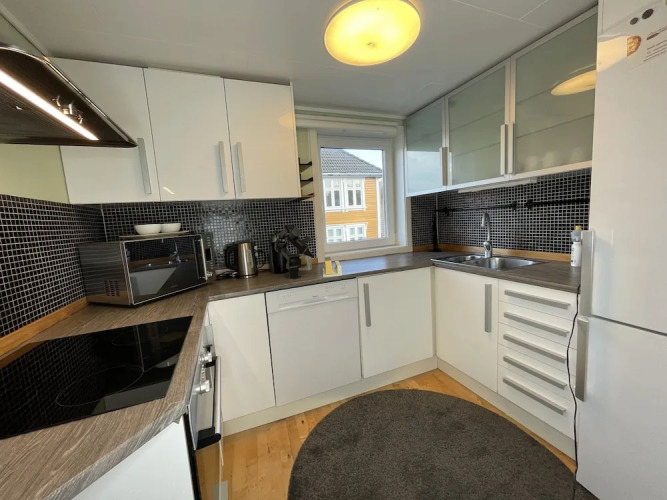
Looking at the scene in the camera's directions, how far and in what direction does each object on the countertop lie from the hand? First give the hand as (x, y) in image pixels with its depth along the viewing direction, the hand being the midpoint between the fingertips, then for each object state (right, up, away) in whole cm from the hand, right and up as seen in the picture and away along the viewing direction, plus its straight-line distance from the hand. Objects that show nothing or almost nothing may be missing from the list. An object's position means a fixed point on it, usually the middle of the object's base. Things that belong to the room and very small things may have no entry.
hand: (313, 257), depth 177 cm
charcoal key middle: (+9, -10, +11) cm, 18 cm away
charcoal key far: (+9, -9, +21) cm, 25 cm away
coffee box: (-9, -11, +31) cm, 34 cm away
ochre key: (+10, -11, +1) cm, 14 cm away
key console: (+11, -11, +12) cm, 19 cm away
